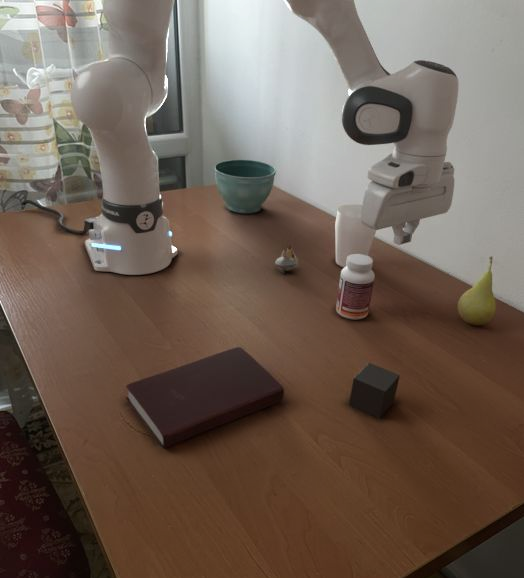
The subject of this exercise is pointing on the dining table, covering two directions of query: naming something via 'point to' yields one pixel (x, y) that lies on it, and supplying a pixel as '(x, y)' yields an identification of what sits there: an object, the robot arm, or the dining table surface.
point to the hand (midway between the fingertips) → (401, 242)
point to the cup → (351, 233)
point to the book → (203, 395)
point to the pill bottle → (355, 287)
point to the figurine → (286, 261)
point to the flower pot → (244, 184)
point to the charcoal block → (374, 390)
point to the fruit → (478, 301)
